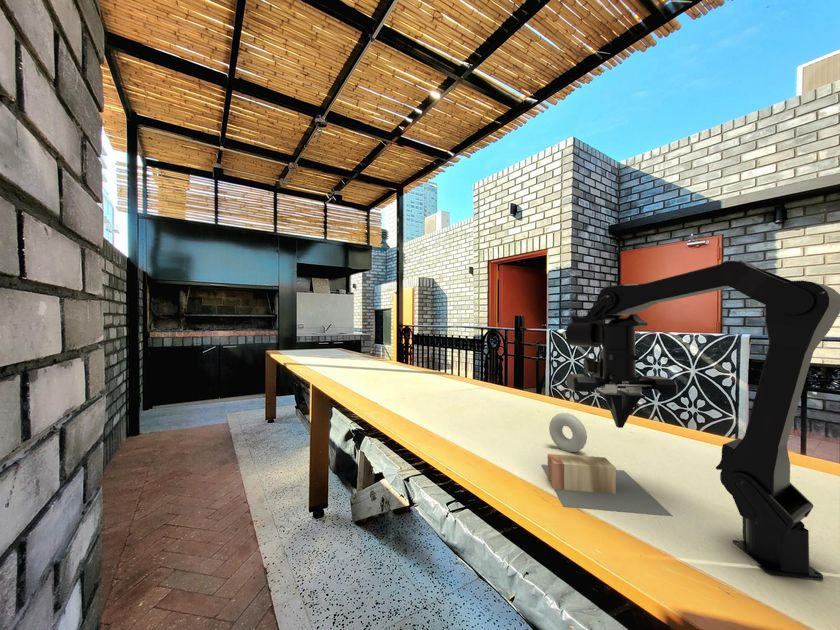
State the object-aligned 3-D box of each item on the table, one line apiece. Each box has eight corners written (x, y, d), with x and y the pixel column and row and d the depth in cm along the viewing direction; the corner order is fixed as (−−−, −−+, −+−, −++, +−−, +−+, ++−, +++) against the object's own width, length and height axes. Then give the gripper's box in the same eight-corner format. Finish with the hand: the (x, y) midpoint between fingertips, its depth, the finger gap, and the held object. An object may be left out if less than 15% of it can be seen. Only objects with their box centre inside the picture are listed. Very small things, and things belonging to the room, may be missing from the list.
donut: (546, 447, 90) (546, 409, 90) (553, 444, 92) (553, 408, 92) (582, 459, 82) (582, 418, 82) (589, 456, 84) (589, 416, 84)
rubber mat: (673, 519, 57) (673, 516, 57) (563, 509, 60) (563, 506, 60) (624, 472, 75) (624, 470, 75) (540, 466, 77) (540, 464, 77)
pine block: (615, 467, 65) (553, 463, 66) (615, 493, 64) (553, 488, 66) (605, 457, 70) (547, 453, 71) (605, 481, 69) (547, 477, 71)
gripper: (646, 347, 74) (647, 418, 73) (558, 345, 76) (559, 414, 76) (678, 350, 63) (680, 434, 62) (575, 349, 65) (575, 429, 65)
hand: (619, 427), depth 67 cm, fingers closed
